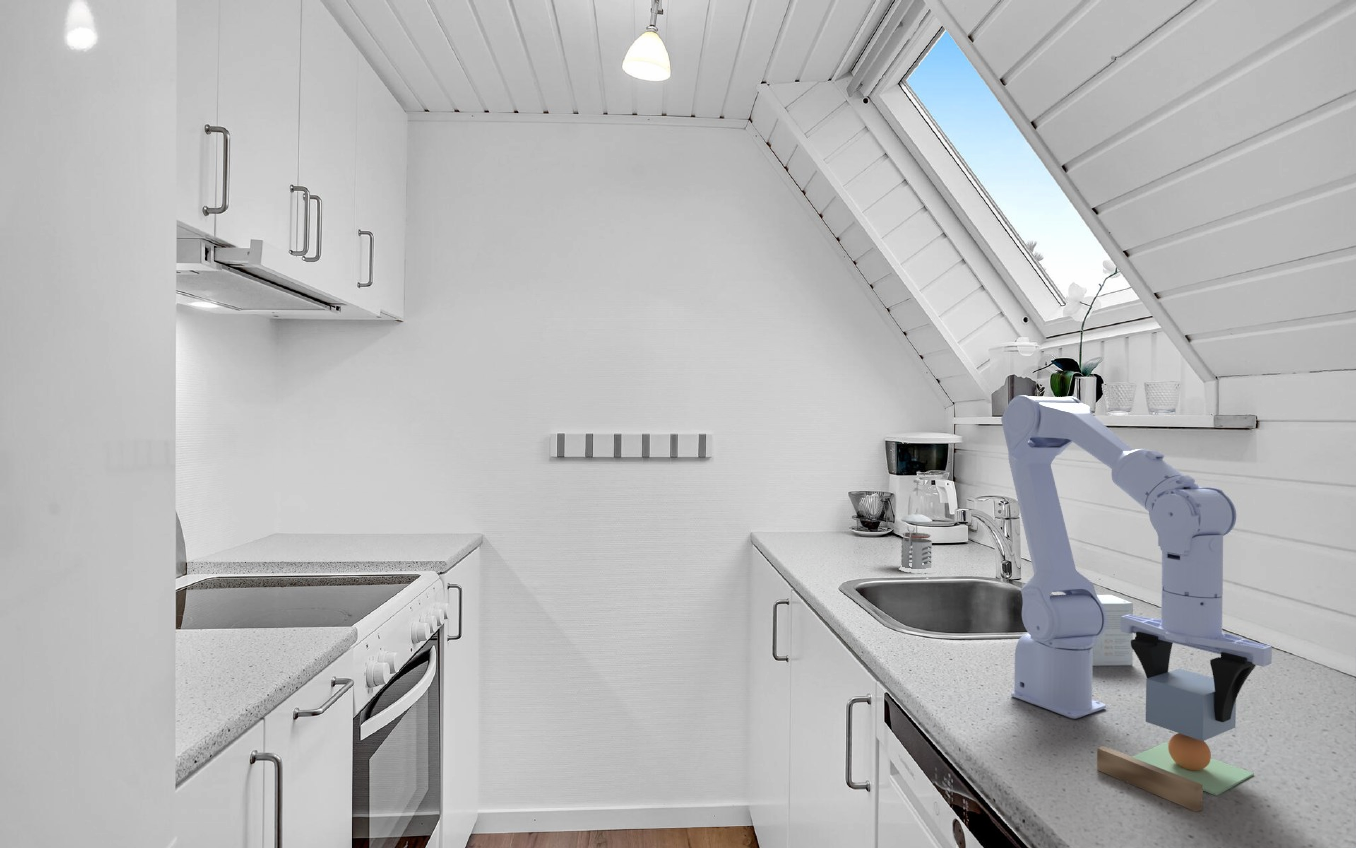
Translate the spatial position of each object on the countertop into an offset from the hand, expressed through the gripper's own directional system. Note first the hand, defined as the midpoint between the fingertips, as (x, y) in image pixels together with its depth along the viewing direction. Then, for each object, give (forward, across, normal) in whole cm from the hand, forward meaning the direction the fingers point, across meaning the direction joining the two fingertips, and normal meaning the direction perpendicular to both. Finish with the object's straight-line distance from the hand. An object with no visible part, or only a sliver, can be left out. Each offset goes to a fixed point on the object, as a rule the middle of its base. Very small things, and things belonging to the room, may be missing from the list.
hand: (1190, 709), depth 81 cm
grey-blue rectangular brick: (+2, 0, 0) cm, 2 cm away
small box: (+7, -26, +29) cm, 40 cm away
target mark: (+7, 0, 0) cm, 7 cm away
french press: (+7, -91, +59) cm, 109 cm away
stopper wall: (+7, 0, -9) cm, 12 cm away
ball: (+5, 0, 0) cm, 5 cm away
